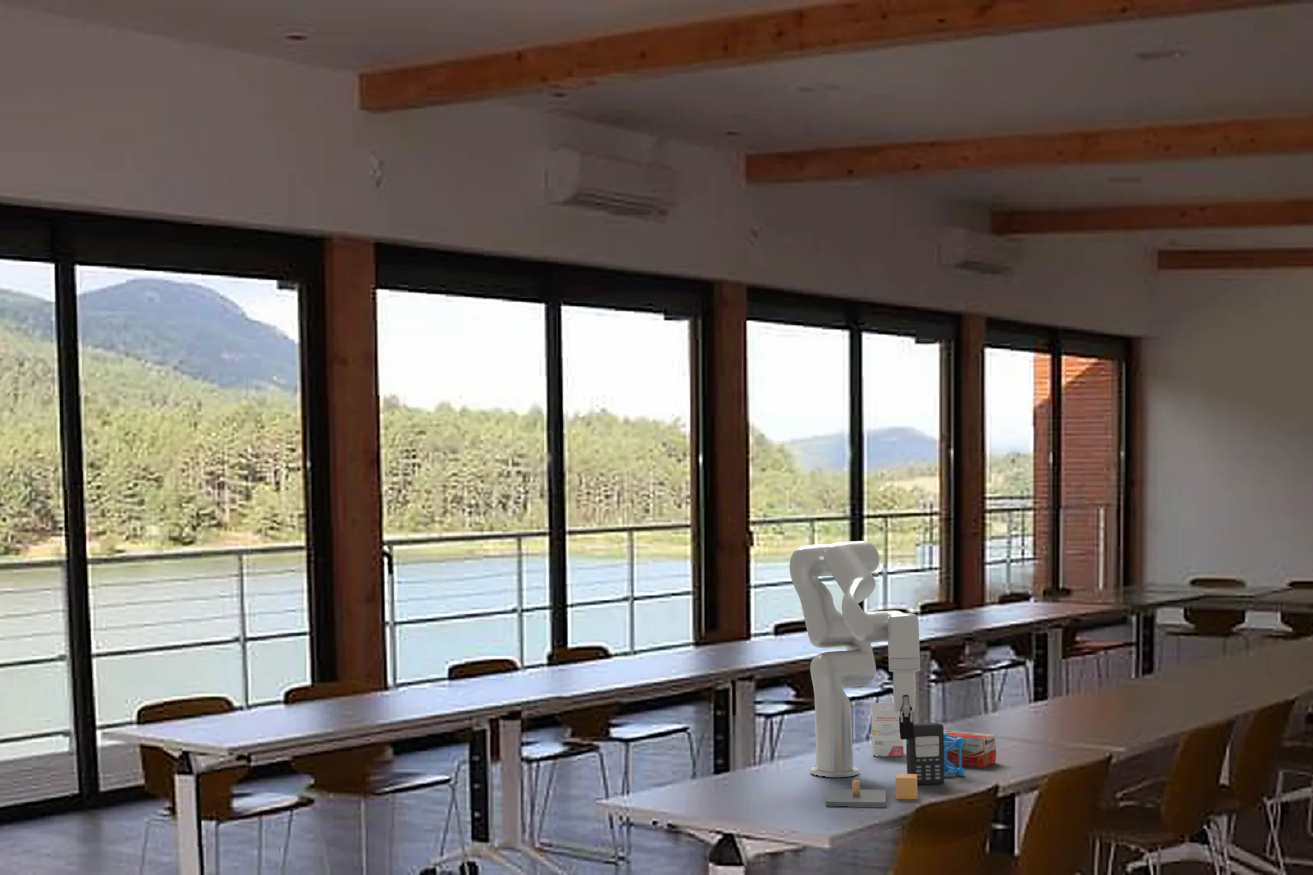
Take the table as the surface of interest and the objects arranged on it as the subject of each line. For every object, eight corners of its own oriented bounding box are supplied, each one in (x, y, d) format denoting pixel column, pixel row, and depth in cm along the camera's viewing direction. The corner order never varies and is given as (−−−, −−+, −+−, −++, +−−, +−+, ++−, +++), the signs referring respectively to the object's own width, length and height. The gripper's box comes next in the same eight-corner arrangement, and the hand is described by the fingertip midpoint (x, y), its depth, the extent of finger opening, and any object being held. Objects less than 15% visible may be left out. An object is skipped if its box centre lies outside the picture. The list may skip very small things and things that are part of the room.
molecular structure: (966, 776, 393) (965, 737, 393) (932, 780, 390) (931, 740, 390) (946, 769, 403) (946, 731, 403) (913, 773, 399) (912, 734, 400)
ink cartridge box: (903, 753, 426) (902, 700, 427) (903, 757, 422) (902, 703, 422) (872, 753, 428) (871, 700, 428) (872, 756, 423) (871, 703, 423)
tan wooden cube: (896, 794, 373) (895, 773, 373) (916, 794, 372) (916, 774, 372) (896, 798, 368) (896, 778, 368) (917, 799, 367) (917, 778, 367)
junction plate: (827, 794, 374) (827, 774, 374) (885, 794, 372) (885, 775, 373) (826, 806, 361) (825, 786, 361) (886, 807, 359) (885, 787, 359)
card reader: (910, 786, 382) (909, 725, 383) (905, 783, 386) (904, 723, 387) (945, 784, 384) (944, 724, 384) (940, 781, 388) (939, 721, 388)
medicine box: (996, 763, 410) (995, 733, 411) (985, 768, 404) (984, 738, 404) (943, 758, 419) (943, 729, 419) (931, 763, 412) (931, 733, 412)
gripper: (888, 661, 379) (890, 730, 379) (889, 668, 362) (891, 741, 362) (919, 660, 378) (921, 730, 378) (921, 668, 361) (923, 741, 361)
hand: (906, 736), depth 370 cm, fingers open, 9 cm apart
